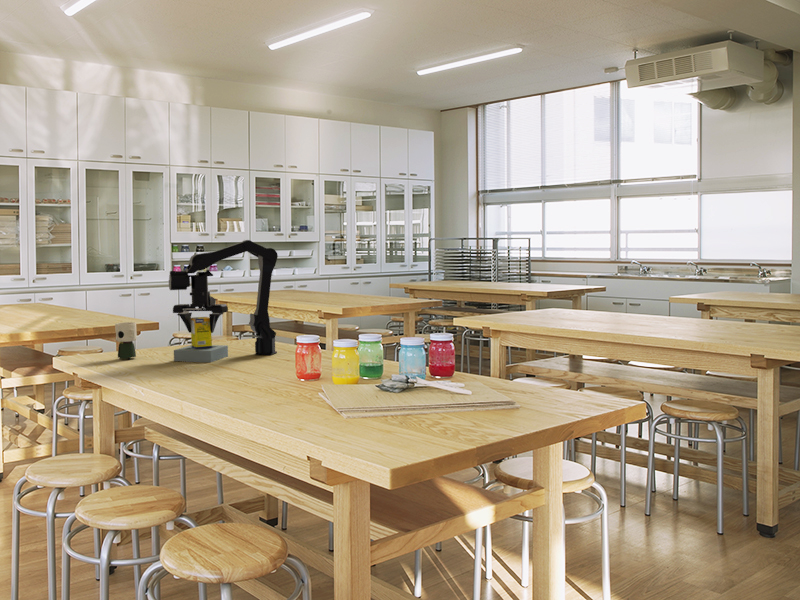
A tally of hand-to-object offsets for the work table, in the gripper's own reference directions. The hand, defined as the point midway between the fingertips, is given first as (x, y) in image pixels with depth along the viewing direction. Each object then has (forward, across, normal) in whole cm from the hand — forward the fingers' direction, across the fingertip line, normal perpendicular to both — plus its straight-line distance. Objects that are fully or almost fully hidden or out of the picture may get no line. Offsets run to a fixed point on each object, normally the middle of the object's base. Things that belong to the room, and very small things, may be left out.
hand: (201, 332), depth 255 cm
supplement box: (+6, 0, 0) cm, 6 cm away
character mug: (+10, +27, +4) cm, 29 cm away
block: (+10, 0, 0) cm, 10 cm away
